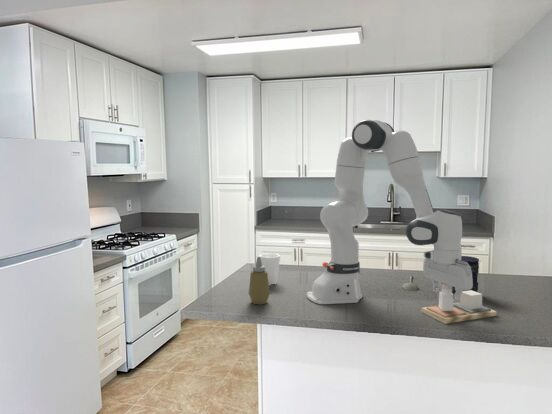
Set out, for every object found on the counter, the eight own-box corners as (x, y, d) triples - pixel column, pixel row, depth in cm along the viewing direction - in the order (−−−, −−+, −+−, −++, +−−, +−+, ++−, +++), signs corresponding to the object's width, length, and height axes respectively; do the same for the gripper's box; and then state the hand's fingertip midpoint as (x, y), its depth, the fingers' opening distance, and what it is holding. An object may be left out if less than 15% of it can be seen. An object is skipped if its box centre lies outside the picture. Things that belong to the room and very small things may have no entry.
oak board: (445, 323, 133) (445, 317, 133) (421, 311, 144) (421, 306, 144) (496, 315, 140) (496, 310, 140) (469, 304, 151) (469, 299, 151)
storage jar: (447, 294, 164) (448, 258, 163) (456, 289, 171) (457, 254, 170) (473, 299, 157) (474, 262, 156) (481, 293, 164) (482, 258, 163)
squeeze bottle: (254, 307, 151) (253, 260, 149) (245, 301, 158) (245, 256, 156) (273, 303, 154) (272, 257, 153) (264, 298, 162) (263, 254, 160)
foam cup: (284, 282, 184) (283, 254, 183) (273, 287, 176) (272, 258, 175) (266, 279, 189) (266, 252, 188) (255, 284, 181) (255, 256, 180)
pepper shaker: (441, 311, 138) (442, 285, 138) (438, 308, 142) (438, 281, 141) (453, 312, 138) (454, 285, 137) (449, 308, 142) (450, 282, 141)
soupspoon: (401, 292, 171) (417, 294, 169) (401, 285, 170) (418, 287, 168) (404, 277, 191) (418, 279, 189) (404, 270, 191) (419, 272, 188)
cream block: (470, 309, 141) (471, 295, 140) (459, 305, 145) (460, 291, 145) (481, 307, 142) (482, 294, 142) (470, 303, 147) (471, 290, 146)
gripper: (478, 262, 130) (476, 303, 131) (434, 250, 149) (433, 286, 150) (462, 263, 128) (461, 306, 129) (420, 251, 147) (419, 288, 148)
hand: (446, 295), depth 140 cm, fingers open, 8 cm apart
